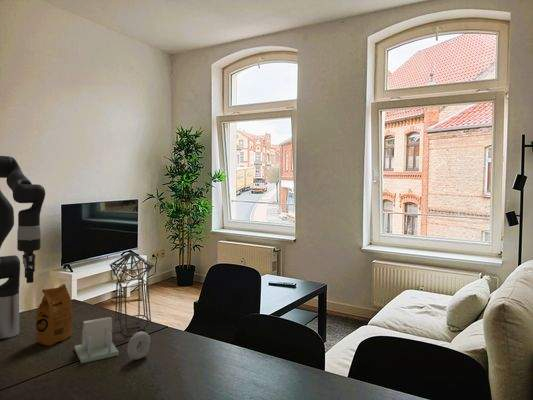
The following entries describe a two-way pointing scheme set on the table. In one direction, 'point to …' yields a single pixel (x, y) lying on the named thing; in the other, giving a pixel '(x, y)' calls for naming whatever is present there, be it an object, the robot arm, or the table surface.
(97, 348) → the dish rack
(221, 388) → the table surface
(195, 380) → the table surface
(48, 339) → the coffee package
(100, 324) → the off-white rectangular prism
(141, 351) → the donut
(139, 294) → the geometric lantern
